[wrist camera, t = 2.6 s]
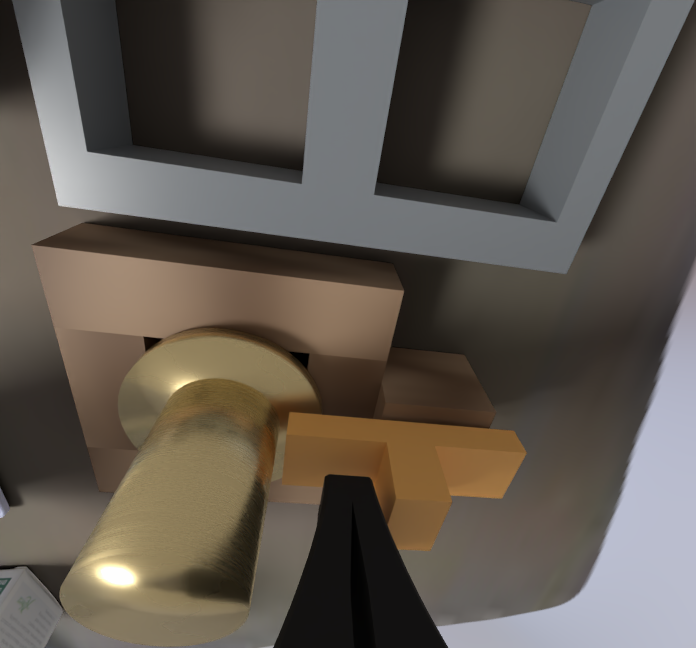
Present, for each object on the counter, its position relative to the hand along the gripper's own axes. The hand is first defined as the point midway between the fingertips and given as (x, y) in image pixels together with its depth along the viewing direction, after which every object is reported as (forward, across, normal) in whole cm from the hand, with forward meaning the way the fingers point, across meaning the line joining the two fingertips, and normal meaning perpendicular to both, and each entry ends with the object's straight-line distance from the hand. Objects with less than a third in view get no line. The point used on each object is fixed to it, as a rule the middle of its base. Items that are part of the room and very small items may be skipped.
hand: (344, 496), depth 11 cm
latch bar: (+2, -2, 0) cm, 3 cm away
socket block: (+6, +2, 0) cm, 6 cm away
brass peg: (+6, +4, 0) cm, 7 cm away
